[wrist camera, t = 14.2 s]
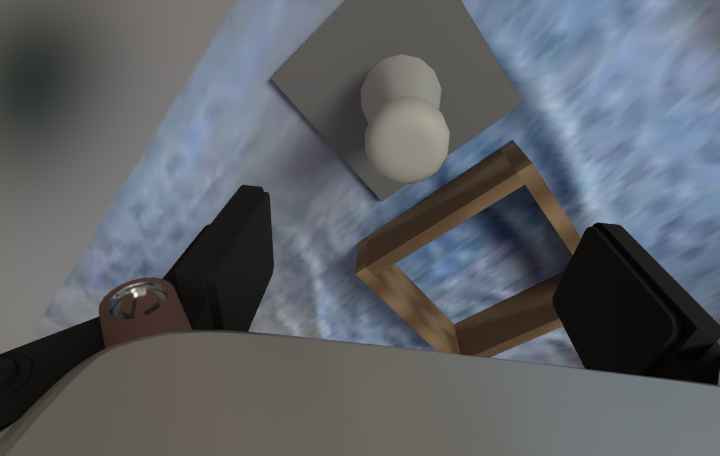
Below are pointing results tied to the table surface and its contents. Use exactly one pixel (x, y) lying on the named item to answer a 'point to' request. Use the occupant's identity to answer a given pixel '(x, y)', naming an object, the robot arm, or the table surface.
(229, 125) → the table surface
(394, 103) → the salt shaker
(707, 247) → the table surface
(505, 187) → the frame
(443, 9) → the coaster
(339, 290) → the table surface
